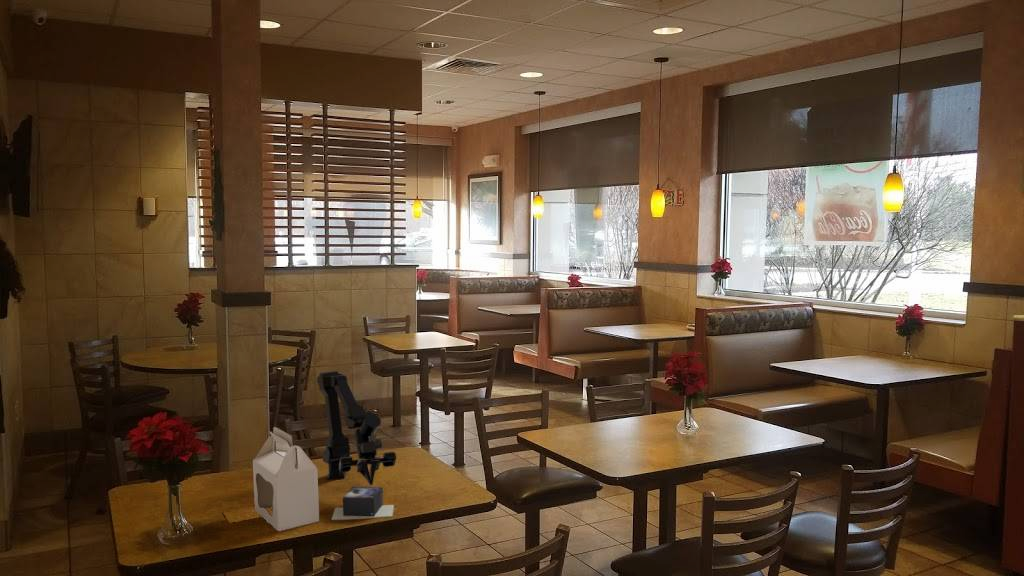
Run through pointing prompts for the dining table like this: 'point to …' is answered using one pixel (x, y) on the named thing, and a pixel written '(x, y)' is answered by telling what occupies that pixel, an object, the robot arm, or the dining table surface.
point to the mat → (382, 512)
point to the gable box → (285, 483)
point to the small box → (362, 501)
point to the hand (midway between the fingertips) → (371, 484)
